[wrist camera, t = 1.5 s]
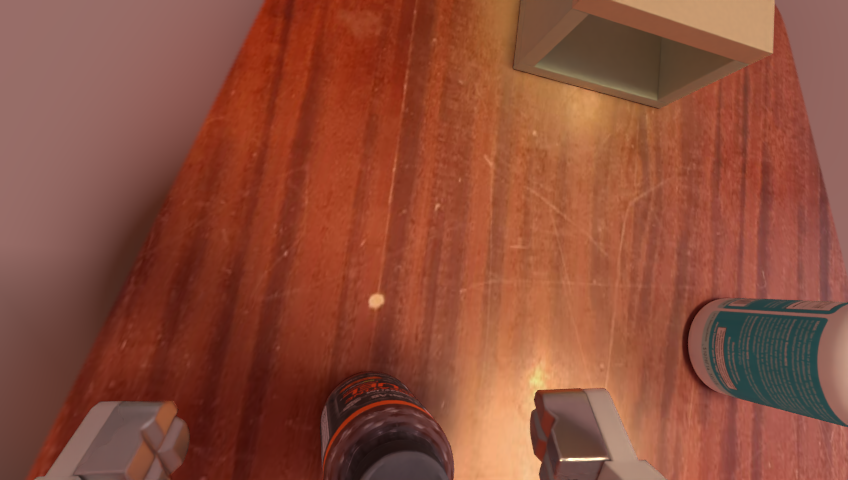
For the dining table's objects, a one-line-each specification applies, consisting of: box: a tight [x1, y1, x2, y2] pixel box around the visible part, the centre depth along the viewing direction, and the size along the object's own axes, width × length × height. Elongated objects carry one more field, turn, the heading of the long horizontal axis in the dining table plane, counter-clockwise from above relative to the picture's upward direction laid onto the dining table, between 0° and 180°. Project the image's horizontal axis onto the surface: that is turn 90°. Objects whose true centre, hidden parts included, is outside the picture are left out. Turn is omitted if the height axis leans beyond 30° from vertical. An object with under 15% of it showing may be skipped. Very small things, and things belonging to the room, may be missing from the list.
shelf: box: [513, 0, 775, 108], centre depth 30 cm, size 13×9×9 cm
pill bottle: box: [688, 298, 848, 427], centre depth 28 cm, size 8×7×14 cm
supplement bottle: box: [320, 371, 454, 480], centre depth 22 cm, size 6×6×11 cm
